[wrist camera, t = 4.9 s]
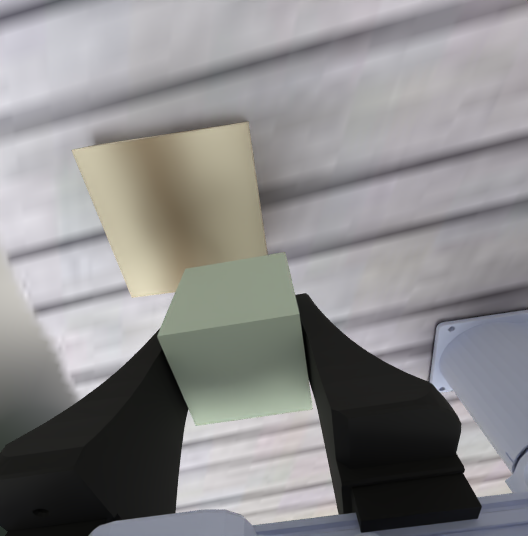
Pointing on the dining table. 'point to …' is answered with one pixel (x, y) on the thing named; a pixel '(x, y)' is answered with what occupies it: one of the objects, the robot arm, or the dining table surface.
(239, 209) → the beige block
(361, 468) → the robot arm
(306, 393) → the sage cube
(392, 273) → the dining table surface
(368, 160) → the dining table surface
